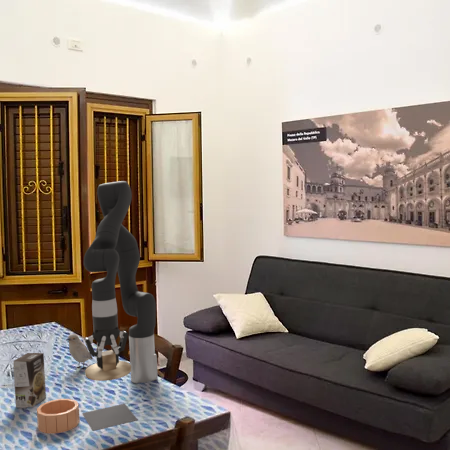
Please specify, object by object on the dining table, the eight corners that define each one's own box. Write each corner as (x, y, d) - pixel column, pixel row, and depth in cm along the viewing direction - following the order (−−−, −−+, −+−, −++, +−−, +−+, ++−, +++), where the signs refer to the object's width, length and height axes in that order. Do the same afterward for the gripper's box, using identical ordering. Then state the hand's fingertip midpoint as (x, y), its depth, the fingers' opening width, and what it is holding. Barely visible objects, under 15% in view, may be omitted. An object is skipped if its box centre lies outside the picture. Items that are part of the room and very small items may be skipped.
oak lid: (123, 361, 176) (122, 342, 176) (137, 374, 164) (136, 354, 164) (80, 369, 170) (79, 350, 169) (91, 384, 158) (90, 364, 157)
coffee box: (32, 408, 177) (29, 361, 176) (15, 407, 178) (12, 360, 177) (47, 397, 186) (44, 352, 185) (30, 396, 187) (27, 351, 186)
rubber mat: (124, 405, 178) (124, 403, 178) (137, 421, 165) (137, 419, 165) (82, 414, 171) (82, 413, 171) (92, 432, 159) (92, 430, 159)
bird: (63, 372, 210) (60, 335, 209) (88, 362, 221) (86, 326, 220) (71, 374, 207) (69, 337, 206) (97, 364, 219) (95, 328, 217)
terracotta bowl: (74, 413, 172) (73, 396, 172) (82, 428, 161) (81, 409, 161) (35, 422, 167) (34, 404, 166) (41, 438, 156) (40, 418, 156)
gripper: (123, 306, 172) (126, 358, 173) (79, 313, 165) (82, 367, 167) (130, 311, 165) (133, 365, 167) (84, 319, 159) (88, 375, 160)
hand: (108, 366), depth 167 cm, fingers closed on oak lid, 4 cm apart
